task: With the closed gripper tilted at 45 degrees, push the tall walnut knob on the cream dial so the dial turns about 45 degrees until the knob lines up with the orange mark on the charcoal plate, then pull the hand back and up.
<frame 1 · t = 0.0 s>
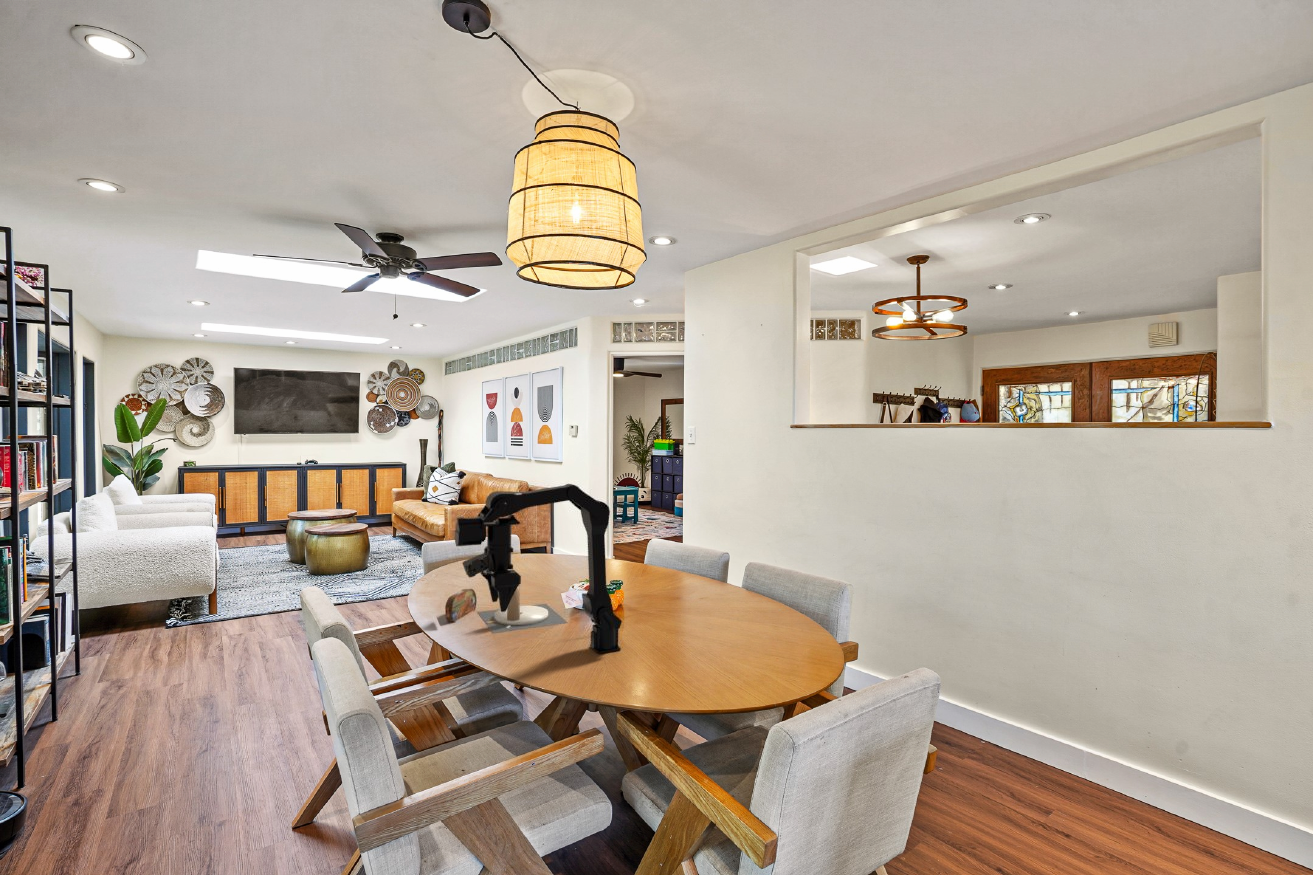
hand: (498, 606, 156), 15 cm above the table, tool pointing down, fingers open, 9 cm apart
dial plate: (521, 620, 192), on the table
tin: (460, 619, 193), on the table
dial: (521, 598, 192), point 7 cm above the table, hinge at 0.0°
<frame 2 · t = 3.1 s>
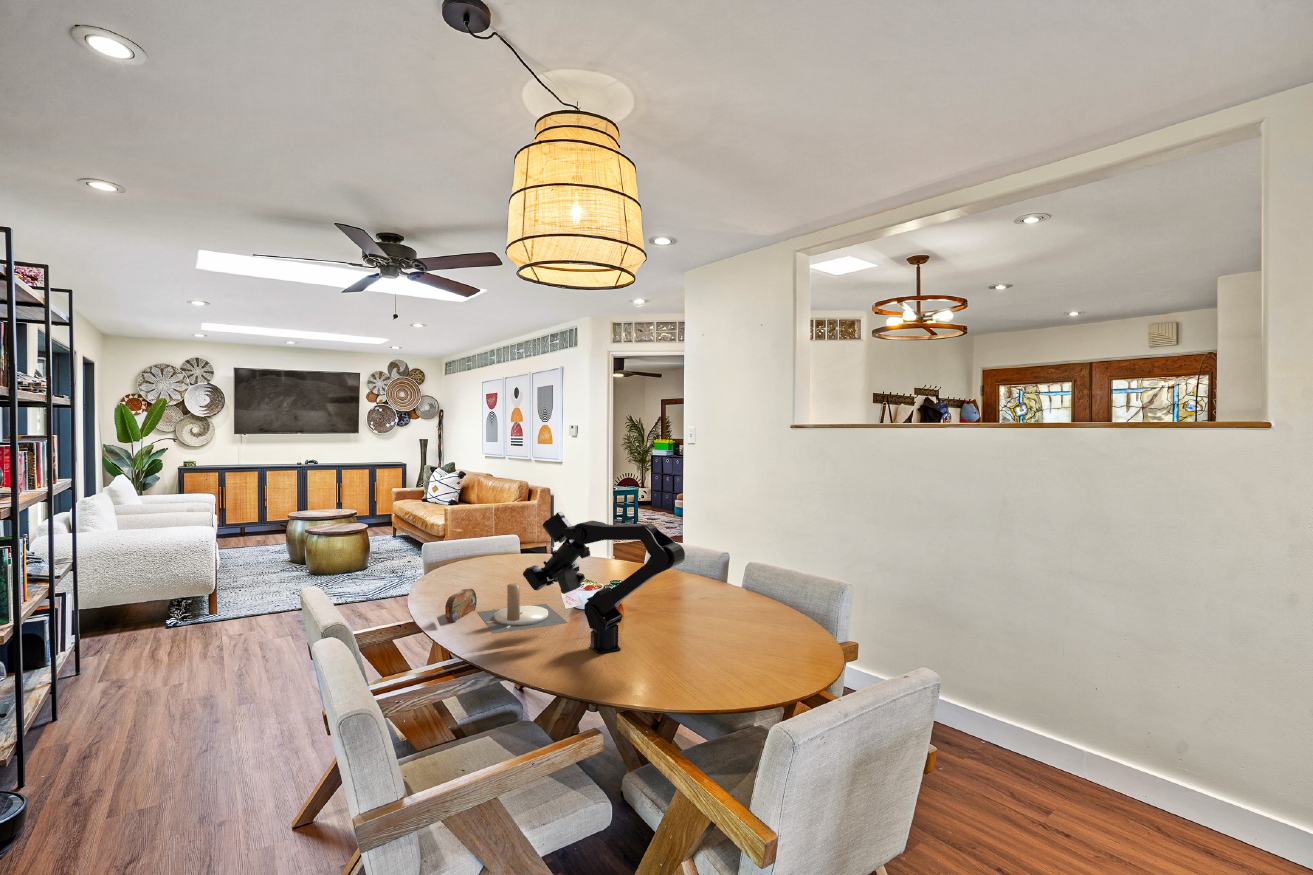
hand: (536, 589, 181), 13 cm above the table, tool tilted 45°, fingers closed
nothing on the table moved.
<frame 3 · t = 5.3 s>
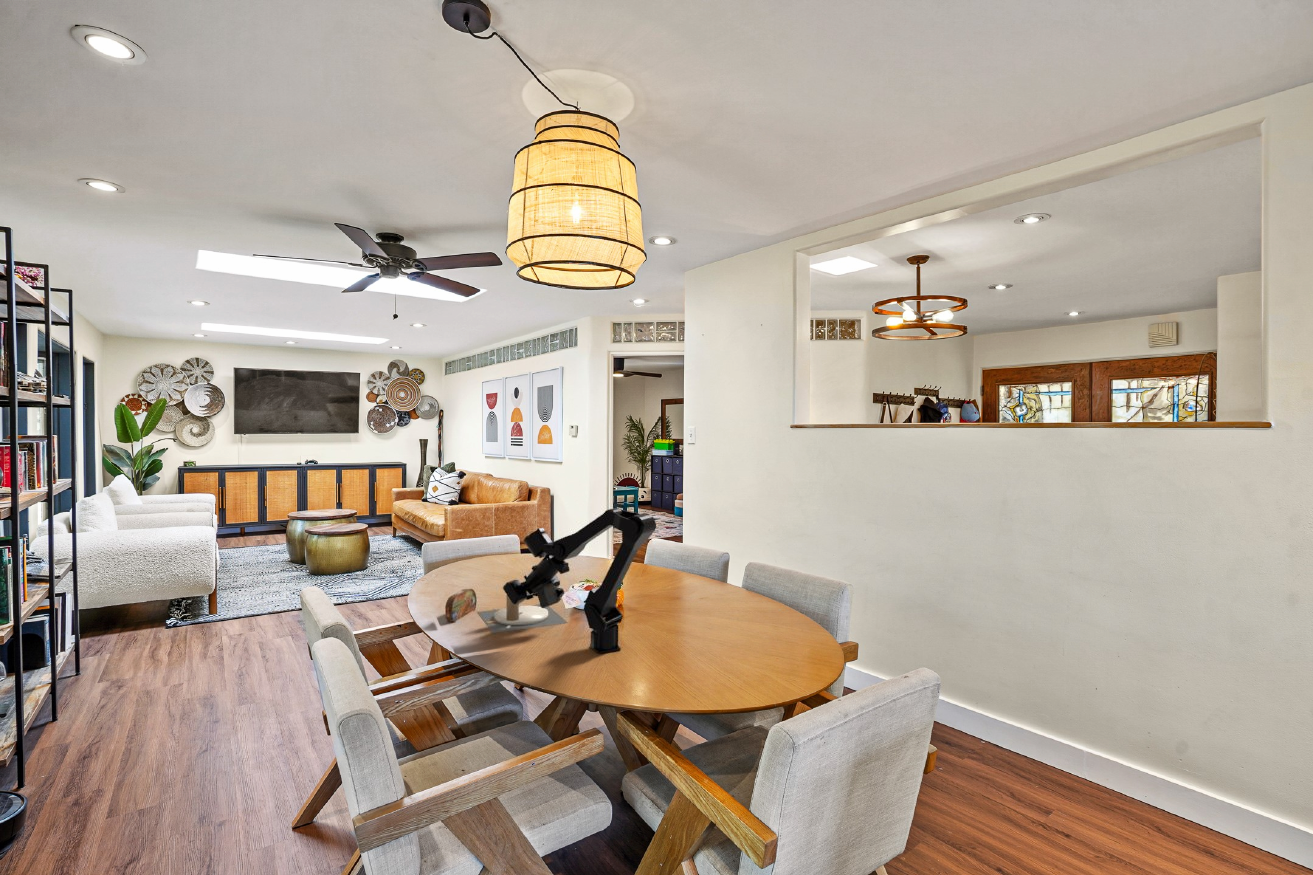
hand: (517, 602, 184), 8 cm above the table, tool tilted 45°, fingers closed, pressing on dial
dial: (521, 598, 192), point 7 cm above the table, hinge at 2.5°, touching gripper
everything else where it was.
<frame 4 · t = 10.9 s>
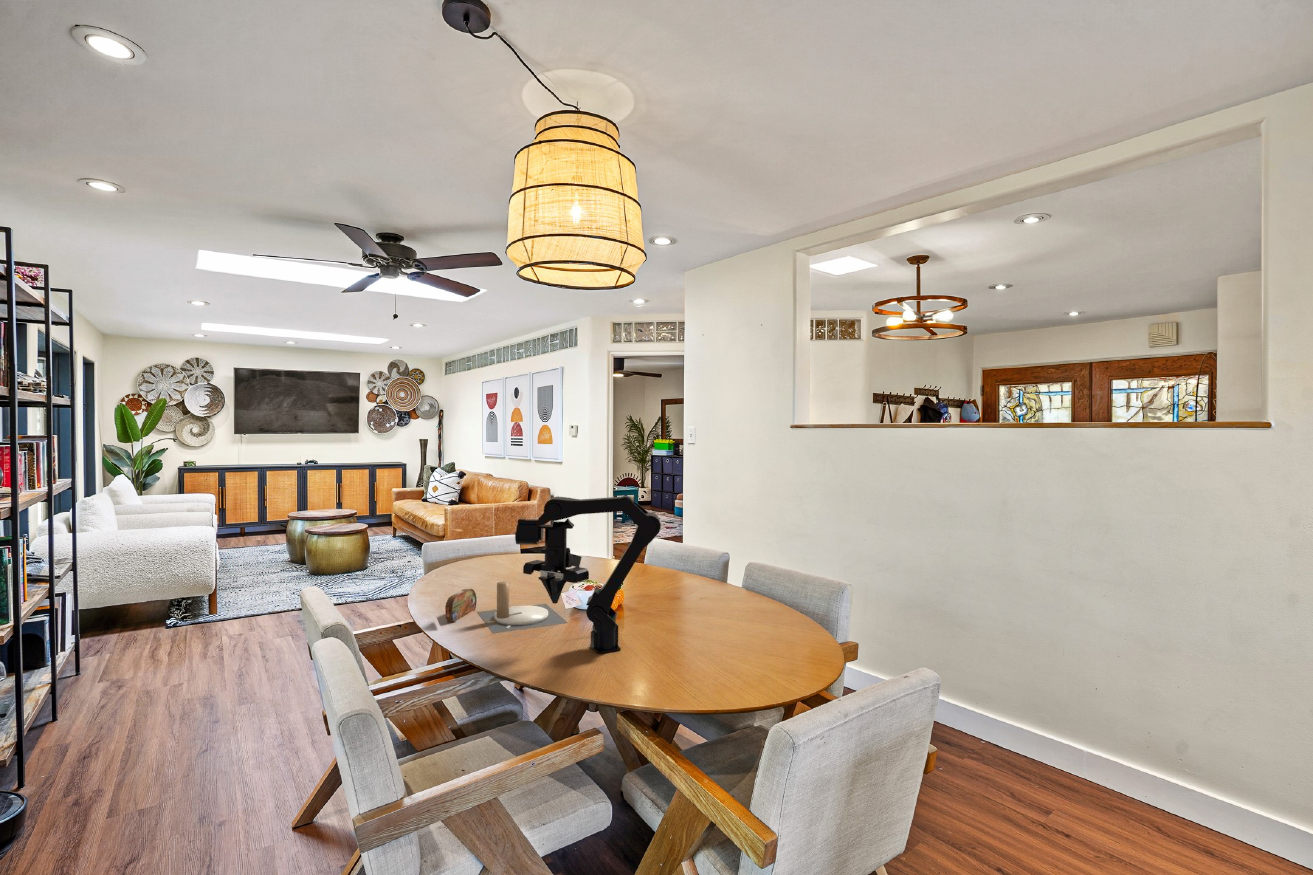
hand: (555, 603, 168), 12 cm above the table, tool pointing down, fingers closed
dial: (521, 598, 192), point 7 cm above the table, hinge at 41.1°
everything else where it was.
at the end: dial at +41° (first picture: +0°); tin moved 0.3 cm from its start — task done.
